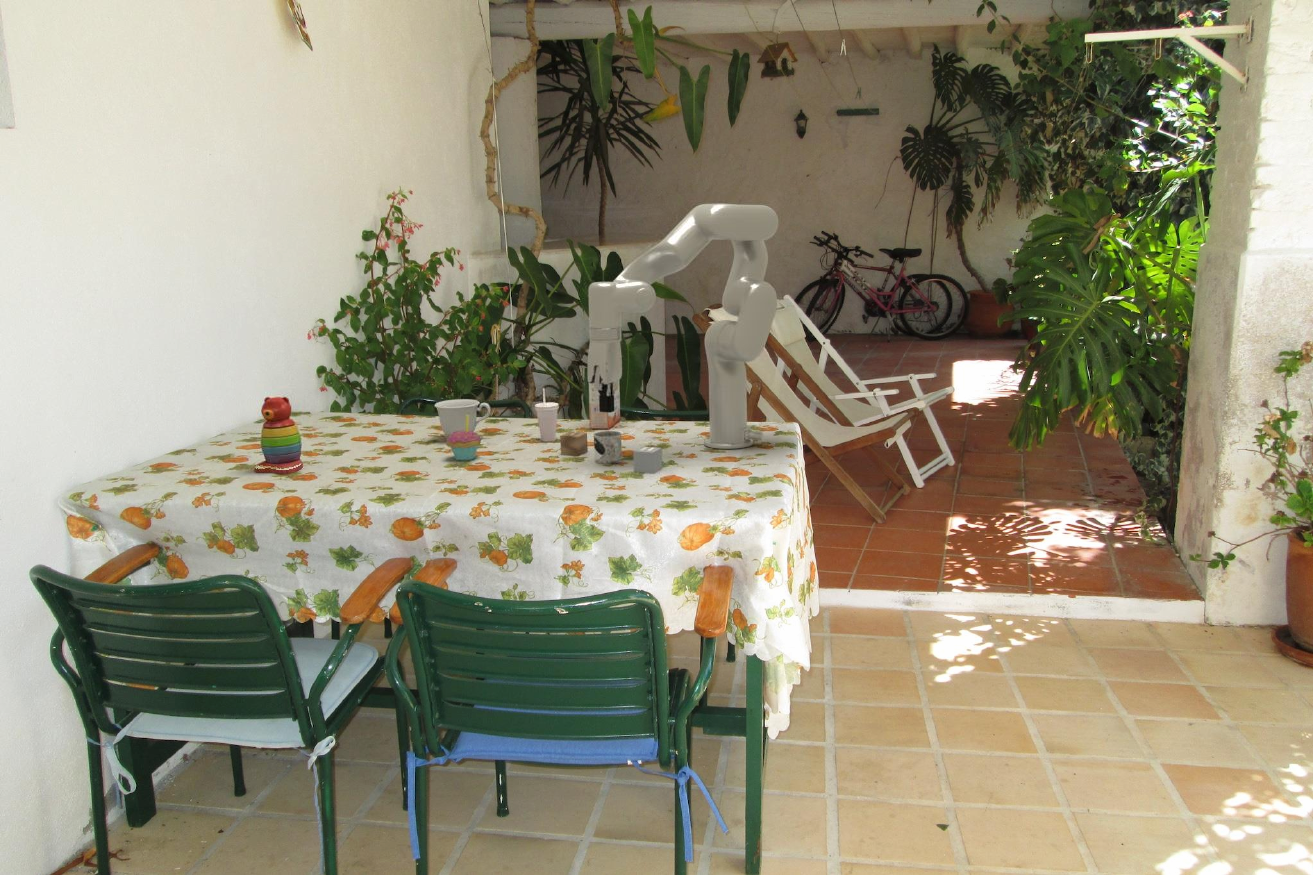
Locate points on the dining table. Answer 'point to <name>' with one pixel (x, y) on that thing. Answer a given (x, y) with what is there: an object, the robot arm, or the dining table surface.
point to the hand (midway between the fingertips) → (606, 411)
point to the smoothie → (547, 419)
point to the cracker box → (603, 418)
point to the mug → (607, 447)
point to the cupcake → (464, 443)
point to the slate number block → (647, 459)
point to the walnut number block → (573, 443)
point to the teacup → (459, 414)
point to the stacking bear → (279, 437)
